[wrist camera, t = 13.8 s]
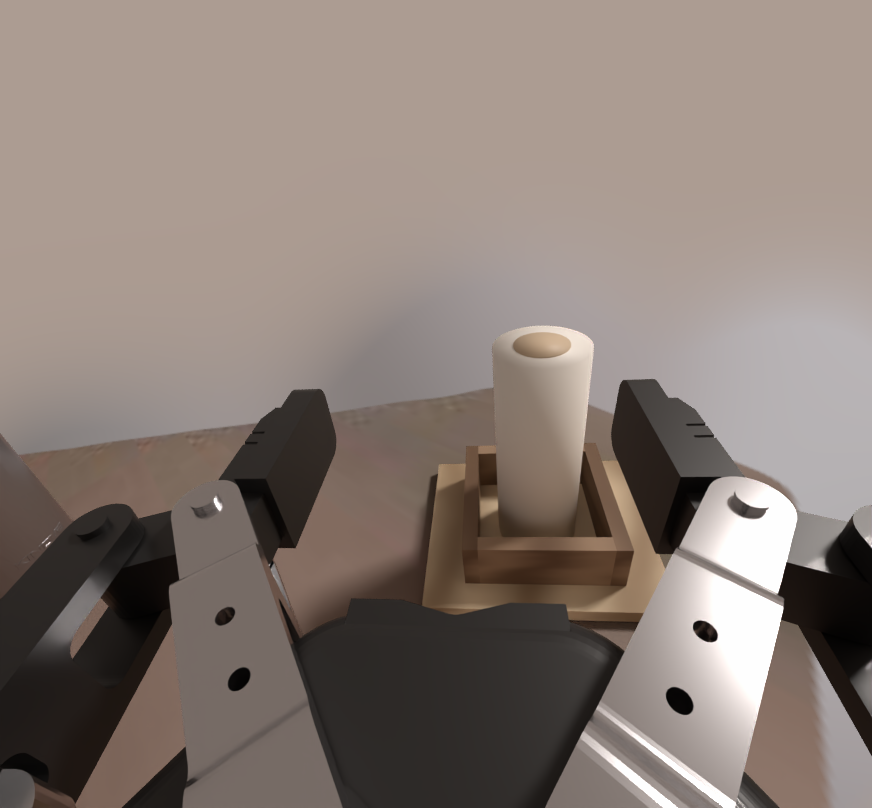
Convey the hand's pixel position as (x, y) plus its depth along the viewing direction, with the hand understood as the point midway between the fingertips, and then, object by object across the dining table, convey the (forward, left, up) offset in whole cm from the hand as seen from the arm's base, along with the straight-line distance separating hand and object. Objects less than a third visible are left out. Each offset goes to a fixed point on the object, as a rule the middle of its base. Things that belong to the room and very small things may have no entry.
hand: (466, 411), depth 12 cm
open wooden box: (+4, +13, -20) cm, 24 cm away
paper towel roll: (+4, +13, -19) cm, 23 cm away
